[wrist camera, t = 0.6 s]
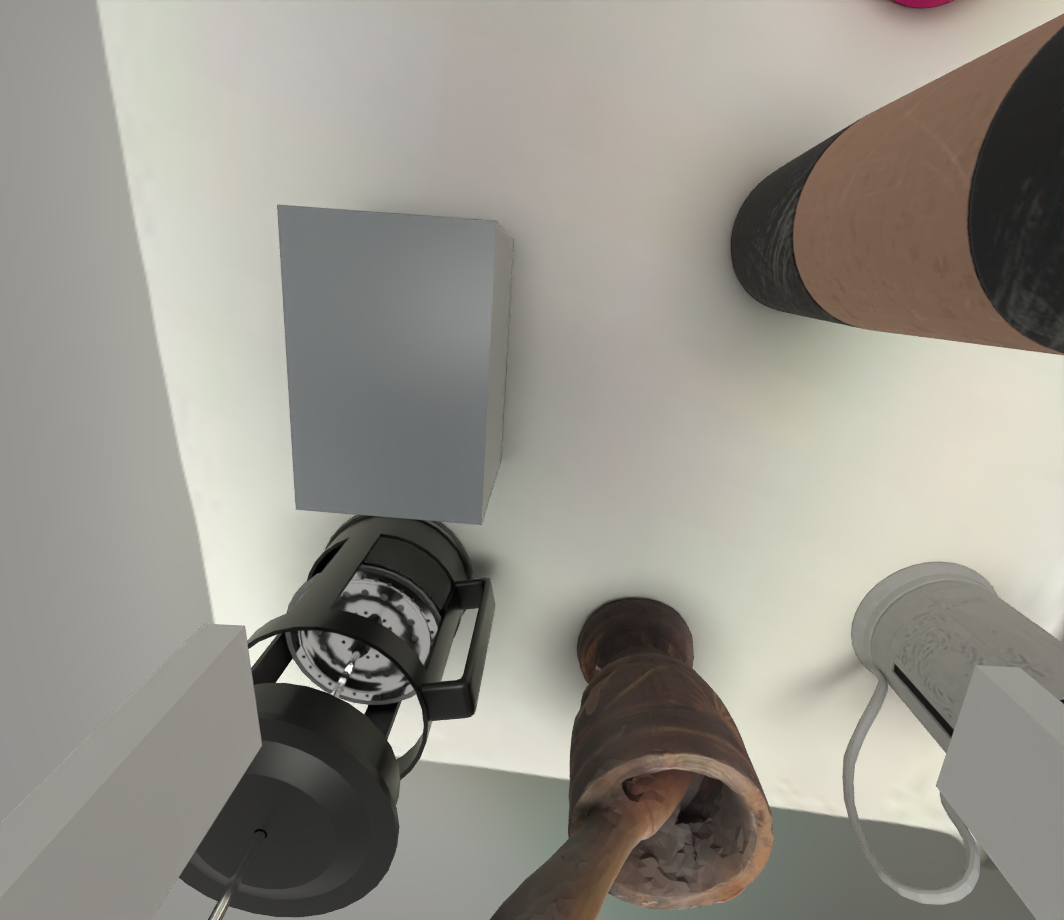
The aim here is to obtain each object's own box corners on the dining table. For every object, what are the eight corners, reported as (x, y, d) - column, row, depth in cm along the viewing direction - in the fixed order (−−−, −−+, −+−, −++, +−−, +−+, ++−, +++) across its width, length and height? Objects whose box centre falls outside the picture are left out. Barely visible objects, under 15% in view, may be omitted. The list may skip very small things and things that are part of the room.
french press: (334, 648, 37) (9, 1184, 15) (296, 517, 34) (-170, 939, 12) (510, 630, 36) (440, 1175, 14) (486, 494, 33) (352, 908, 11)
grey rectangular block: (359, 227, 29) (277, 204, 20) (513, 239, 29) (496, 220, 20) (364, 449, 33) (295, 509, 24) (500, 460, 32) (481, 524, 24)
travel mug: (840, 334, 30) (1355, 427, 11) (702, 295, 29) (977, 317, 10) (906, 179, 27) (1718, -59, 8) (757, 135, 27) (1246, -220, 8)
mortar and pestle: (527, 710, 38) (499, 1144, 19) (507, 598, 35) (452, 969, 16) (701, 694, 37) (858, 1135, 18) (694, 578, 34) (868, 947, 15)
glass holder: (1017, 649, 35) (1338, 904, 21) (800, 736, 37) (951, 1014, 23) (973, 537, 33) (1297, 734, 18) (747, 637, 35) (877, 877, 21)
